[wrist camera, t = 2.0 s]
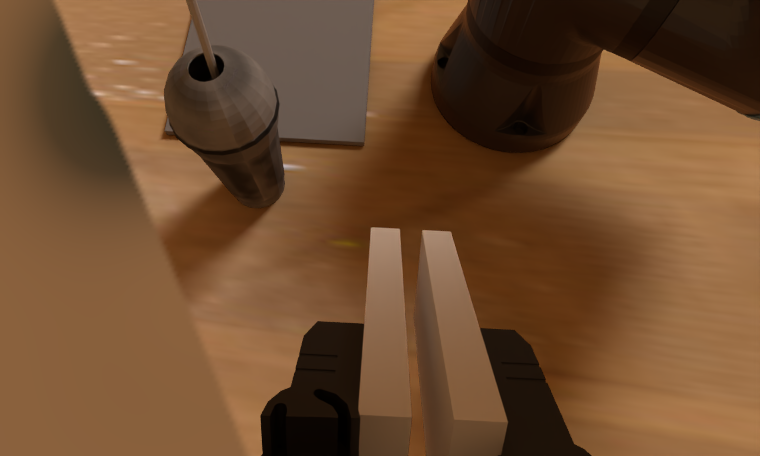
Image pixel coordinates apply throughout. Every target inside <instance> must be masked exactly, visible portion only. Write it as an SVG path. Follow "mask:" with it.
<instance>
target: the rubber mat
mask: <svg viewBox="0 0 760 456" xmlns="http://www.w3.org/2000/svg"><path fill="white" fill-rule="evenodd" d="M196 1H197V4H198V7H199V10H200V13H201V16H202V20H203V23H204V26H205V29H206V32H207V36H208V39H209V42H210V45H222V46H228V47H231V48H234V49H237V50H240V51H242V52H244V53H245V54H247V55H248V56H249V57H251V58H252V59H253V60H255V61H256V62H257V63H258V64H259V65H260V66H261V67H262V69H263V70H264V72H265V73H266V75H267V76H268V78H269V79H270V81H271V82H272V84H273V85H274V87H275V88H276V90H277V94H278V98H279V103H280V106H279V118H278V126H277V127H278V134H279V141H288V142H306V143H323V144H341V145H358V146H364V139H365V124H366V110H367V95H368V80H369V65H370V51H371V36H372V21H373V7H374V0H196ZM198 47H201V44H200V41H199V38H198V35H197V32H196V29H195V26H194V23H193V20H191V24H190V28H189V32H188V36H187V41H186V45H185V49H184V53H183V55H185V54H186V53H187V52H189V51H191V50H193V49H196V48H198ZM165 132H166V134H167V135H175V134H174V132H173V130H172V128H171V127H170V125H169V118H168V119H167V123H166V127H165Z"/></svg>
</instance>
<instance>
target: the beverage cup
mask: <svg viewBox="0 0 760 456" xmlns="http://www.w3.org/2000/svg"><path fill="white" fill-rule="evenodd" d="M186 2H187V5H188V8H189V11H190V14H191V17H192V20H193V23H194V26H195V29H196V32H197V35H198V38H199V41H200V44H201V47H198V48H196V49H193V50H191V51H189V52H187V53H186V54H185V55H183V56H182V57H181V58H180V59H178V61H177V62H176V63H175V65H174V66H173V68H172V69H171V70H170V72H169V74H168V78H167V81H166V85H165V88H164V100H165V109H166V113H167V116H168V118H169V125H170V127H171V128H172V130H173V132H174V134H175V136H176V138H177V139H179V140H180V141H181V142H182V143H183V144H185V145H186V146H187V147H188V148H190V149H192V150H193V151H194V152H195V153H197V154H198V155H199V156H200V157H201V158H202V159H203V160H204V162H205V163H206V164H207V165H208V166H209V168H210V169H211V170H212V171H213V172H214V173H215V175H216V176H217V177H218V178H219V179H220V181H221V182H222V183H223V184H224V185H225V186H226V188H227V189H228V190H229V191H230V192H231V194H233V195H234V196H235V197H236V198H237V199H238V200H239V201H240V202H241V203H242V204H243V205H246V206H248V207H251V208H262V207H267V206H269V205H271V204H273V203H274V202H275V201H276V200H278V199H279V198H280V196H281V194H282V192H283V191H284V185H285V181H284V168H283V161H282V154H281V148H280V141H279V134H278V127H277V126H278V118H279V106H280V103H279V98H278V94H277V90H276V88H275V87H274V85H273V84H272V82H271V81H270V79H269V78H268V76H267V75H266V73H265V72H264V70H263V69H262V67H261V66H260V65H259V64H258V63H257V62H256V61H255V60H253V59H252V58H251V57H249V56H248V55H247V54H245V53H244V52H242V51H240V50H237V49H234V48H231V47H228V46H222V45H210V42H209V39H208V36H207V32H206V29H205V26H204V23H203V20H202V16H201V13H200V10H199V7H198V4H197V1H196V0H186Z"/></svg>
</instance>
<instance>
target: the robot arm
mask: <svg viewBox="0 0 760 456" xmlns="http://www.w3.org/2000/svg"><path fill="white" fill-rule="evenodd" d="M603 50H607V51H609V52H612V53H614V54H616V55H618V56H620V57H623V58H625V59H627V60H629V61H631V62H633V63H635V64H638V65H640V66H642V67H644V68H646V69H648V70H650V71H653V72H655V73H657V74H659V75H661V76H663V77H665V78H667V79H670V80H672V81H674V82H676V83H678V84H680V85H682V86H684V87H687V88H689V89H691V90H693V91H695V92H697V93H699V94H702V95H704V96H706V97H708V98H710V99H712V100H714V101H716V102H719V103H721V104H723V105H725V106H727V107H729V108H731V109H733V110H736V111H737V112H738V113H740V114H743V115H745V116H746V117H748V118H751V119H754V120H758V121H760V0H468V3H467V5H466V6H465V8H464V9H463V11H462V12H461V13H460V15H459V16H458V17H457V19H456V20H455V22H454V23H453V24H452V26H451V27H450V29H449V30H448V31H447V33H446V34H445V35H444V37H443V39H442V40H441V42H440V44H439V46H438V49H437V51H436V55H435V59H434V64H433V69H432V75H431V87H432V93H433V96H434V99H435V102H436V104H437V107H438V108H439V110H440V112H441V113H442V115H443V116H444V118H445V119H446V120H447V121H448V123H449V124H450V125H451V126H452V127H453V128H454V129H456V130H457V131H458V132H459V133H461V134H462V135H463V136H465V137H466V138H468V139H470V140H471V141H473V142H475V143H477V144H479V145H482V146H485V147H487V148H491V149H494V150H499V151H504V152H531V151H536V150H541V149H544V148H547V147H549V146H552V145H554V144H556V143H558V142H559V141H561V140H562V139H564V138H565V137H566V136H567V135H569V134H570V133H571V132H572V131H573V129H574V128H575V127H576V126H577V124H578V123H579V121H580V120H581V119H582V117H583V116H584V114H585V113H586V111H587V110H588V108H589V106H590V104H591V101H592V98H593V95H594V91H595V85H596V80H597V74H598V69H599V63H600V58H601V53H602V51H603ZM414 327H415V338H416V349H417V360H418V371H419V382H420V393H421V404H422V414H423V425H424V436H425V447H426V456H591V455H590V454H589V453H588V452H587V451H586V450H584V449H583V448H581V447H579V446H577V445H575V444H574V443H573V440H572V438H571V436H570V434H569V431H568V429H567V427H566V425H565V422H564V420H563V418H562V415H561V413H560V411H559V409H558V406H557V404H556V402H555V399H554V397H553V395H552V393H551V390H550V388H549V386H548V384H547V383H546V382H545V380H546V379H545V377H544V374H543V372H542V370H541V368H539V363H538V361H537V358H536V356H535V354H534V352H533V349H532V347H531V345H529V344H528V343H527V342H526V341H525V340H524V339H523V338H522V337H521V336H520V335H519V334H518V333H517V332H516V331H515V330H503V329H484V328H480V327H479V324H478V321H477V317H476V314H475V311H474V307H473V304H472V301H471V297H470V294H469V291H468V287H467V284H466V281H465V277H464V274H463V271H462V267H461V264H460V261H459V257H458V254H457V251H456V247H455V244H454V241H453V237H452V234H451V232H449V231H431V230H422V237H421V247H420V257H419V267H418V277H417V287H416V297H415V308H414ZM411 422H412V409H411V394H410V378H409V363H408V348H407V332H406V317H405V301H404V286H403V271H402V255H401V240H400V229H395V228H376V227H371V236H370V250H369V264H368V278H367V293H366V307H365V321H364V324H359V323H340V322H321V321H318V322H317V323H316V324H315V325H314V326H313V327H312V328H311V329H310V330H309V331H308V332H307V333H306V334H305V335H304V338H303V341H302V345H301V349H300V353H299V357H298V361H297V365H296V371H295V373H294V377H293V380H292V384H291V387H290V388H287V389H285V390H282V391H280V392H279V393H278V394H277V395H276V396H274V397H273V398H272V399H271V400H269V401H268V403H267V404H266V406H265V408H264V410H263V412H262V414H261V434H262V451H263V454H262V455H261V456H408V450H409V441H410V432H411Z"/></svg>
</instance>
